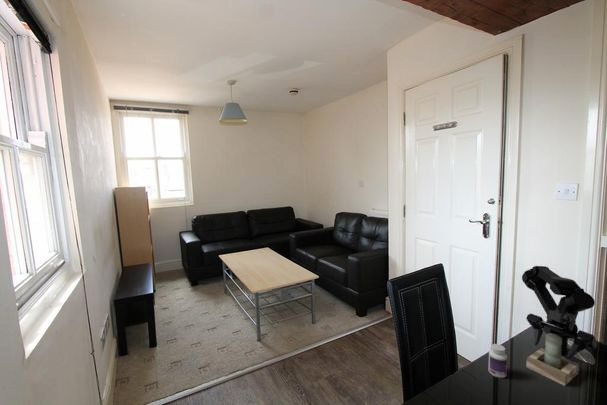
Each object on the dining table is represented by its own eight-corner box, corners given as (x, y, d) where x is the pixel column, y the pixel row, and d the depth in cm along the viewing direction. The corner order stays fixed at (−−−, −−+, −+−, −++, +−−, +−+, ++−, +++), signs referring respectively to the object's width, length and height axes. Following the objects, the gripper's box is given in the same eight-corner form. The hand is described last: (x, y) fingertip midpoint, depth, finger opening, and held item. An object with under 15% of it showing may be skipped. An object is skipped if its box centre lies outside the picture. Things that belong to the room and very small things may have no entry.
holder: (540, 356, 112) (540, 348, 112) (578, 373, 103) (579, 363, 102) (526, 367, 107) (526, 358, 106) (564, 385, 97) (565, 376, 97)
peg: (547, 364, 108) (549, 332, 106) (562, 371, 104) (564, 337, 103) (541, 369, 105) (543, 335, 104) (556, 376, 102) (558, 341, 100)
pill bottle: (509, 379, 101) (510, 352, 100) (492, 377, 102) (493, 351, 101) (502, 368, 106) (503, 343, 105) (485, 367, 108) (486, 341, 106)
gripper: (529, 292, 112) (513, 329, 108) (596, 312, 96) (580, 355, 92) (538, 307, 117) (523, 342, 112) (603, 327, 101) (588, 370, 96)
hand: (551, 351), depth 103 cm, fingers open, 9 cm apart
